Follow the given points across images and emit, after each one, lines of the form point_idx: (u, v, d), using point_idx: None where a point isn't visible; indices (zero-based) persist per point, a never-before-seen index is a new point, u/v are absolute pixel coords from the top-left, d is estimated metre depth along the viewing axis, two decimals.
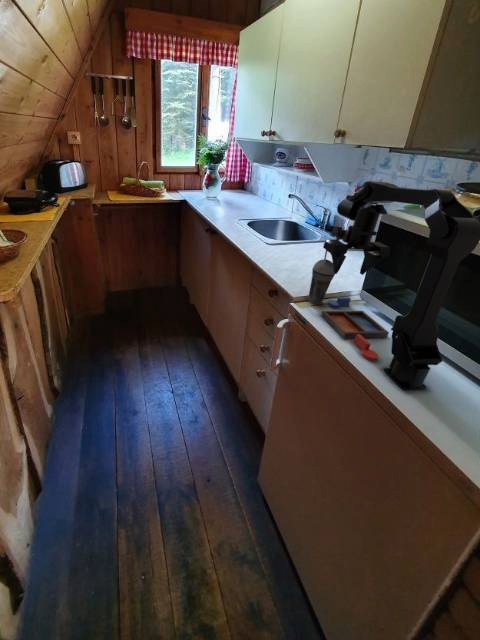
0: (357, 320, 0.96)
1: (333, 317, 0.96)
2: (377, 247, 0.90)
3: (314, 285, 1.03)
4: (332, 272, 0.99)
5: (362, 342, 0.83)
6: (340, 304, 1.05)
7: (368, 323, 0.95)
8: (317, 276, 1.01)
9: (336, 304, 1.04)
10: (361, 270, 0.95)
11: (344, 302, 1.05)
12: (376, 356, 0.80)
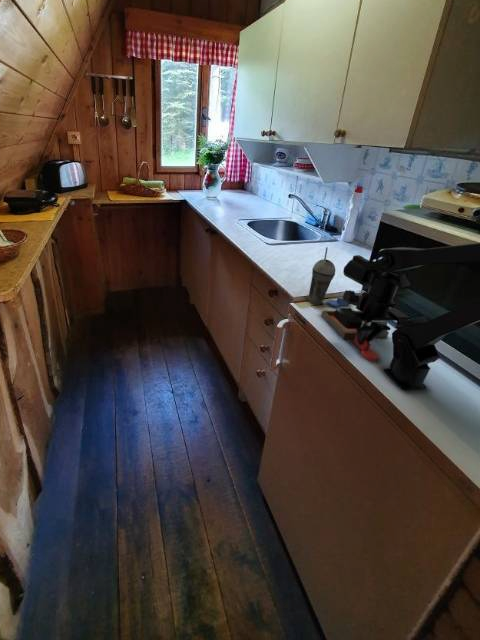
0: None
1: (333, 317, 0.96)
2: (395, 317, 0.80)
3: (314, 285, 1.03)
4: (332, 272, 0.99)
5: None
6: (340, 304, 1.05)
7: None
8: (317, 276, 1.01)
9: (336, 304, 1.04)
10: None
11: (344, 302, 1.05)
12: (376, 356, 0.80)
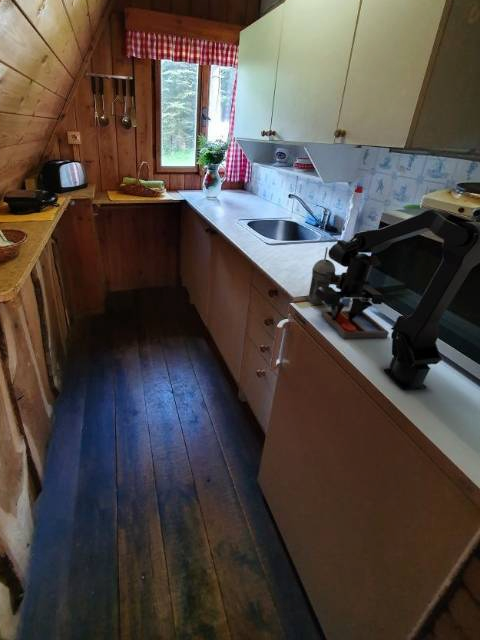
0: (357, 320, 0.96)
1: None
2: (370, 294, 0.90)
3: (314, 285, 1.03)
4: None
5: (342, 317, 0.93)
6: None
7: (368, 323, 0.95)
8: (317, 276, 1.01)
9: None
10: (349, 315, 0.94)
11: (344, 302, 1.05)
12: (354, 328, 0.90)
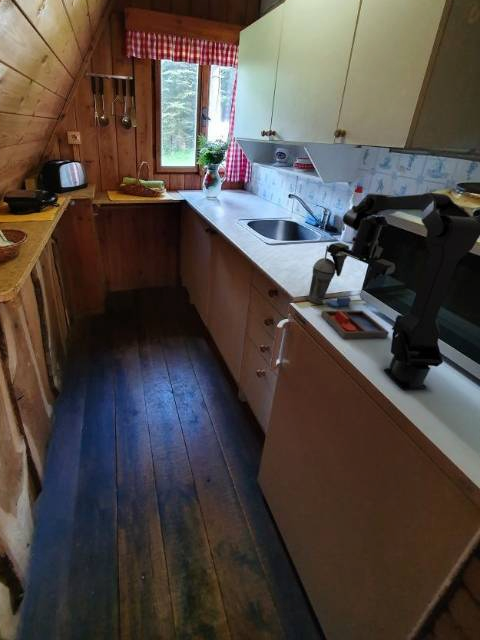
0: (357, 320, 0.96)
1: (333, 317, 0.96)
2: None
3: (314, 284, 1.03)
4: (332, 270, 1.00)
5: (342, 317, 0.93)
6: (340, 304, 1.05)
7: (368, 323, 0.95)
8: (318, 274, 1.01)
9: (336, 304, 1.04)
10: None
11: (344, 302, 1.05)
12: (354, 328, 0.90)
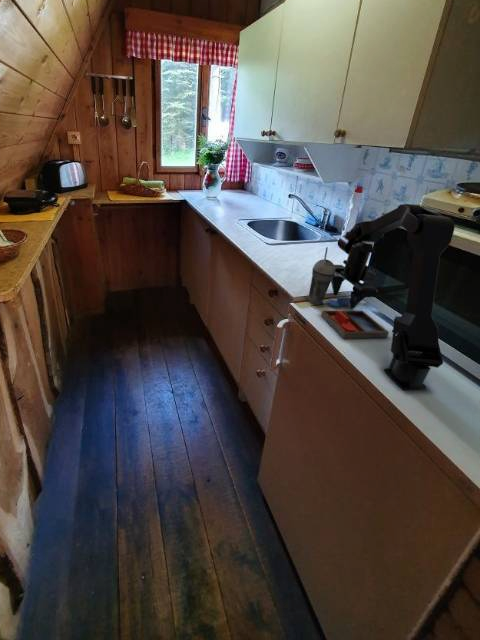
0: (357, 320, 0.96)
1: (333, 317, 0.96)
2: None
3: (314, 285, 1.03)
4: (332, 272, 0.99)
5: (342, 317, 0.93)
6: (340, 304, 1.05)
7: (368, 323, 0.95)
8: (317, 276, 1.01)
9: (336, 304, 1.04)
10: None
11: (344, 302, 1.05)
12: (354, 328, 0.90)
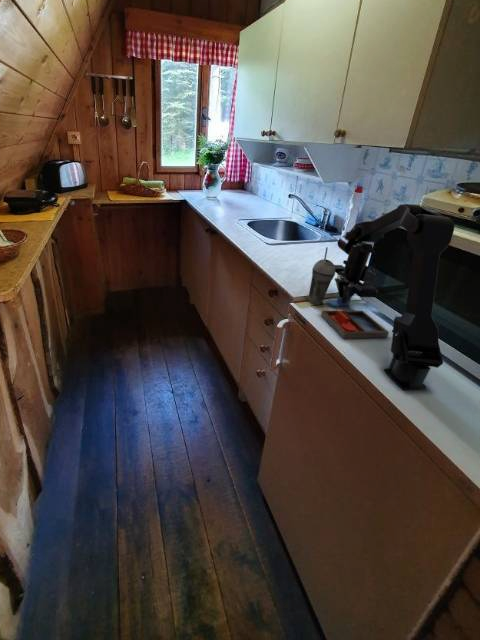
0: (357, 320, 0.96)
1: (333, 317, 0.96)
2: None
3: (314, 285, 1.03)
4: (332, 272, 0.99)
5: (342, 317, 0.93)
6: (340, 304, 1.05)
7: (368, 323, 0.95)
8: (317, 276, 1.01)
9: (336, 304, 1.04)
10: None
11: None
12: (354, 328, 0.90)
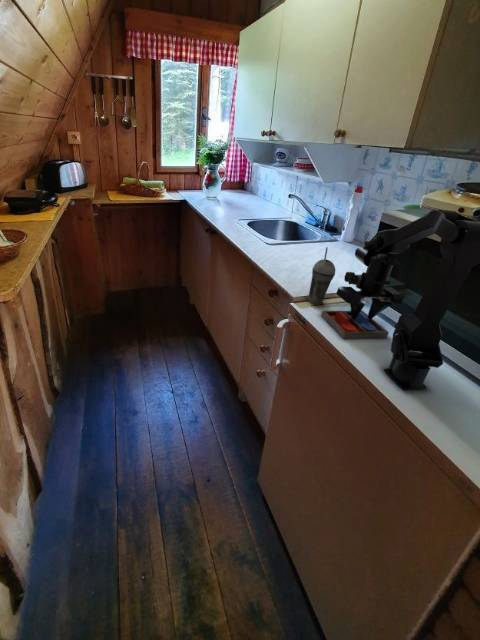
0: None
1: (333, 317, 0.96)
2: (390, 294, 0.91)
3: (314, 285, 1.03)
4: (332, 272, 0.99)
5: (342, 317, 0.93)
6: None
7: None
8: (317, 276, 1.01)
9: (371, 325, 0.93)
10: (369, 315, 0.95)
11: None
12: (354, 328, 0.90)
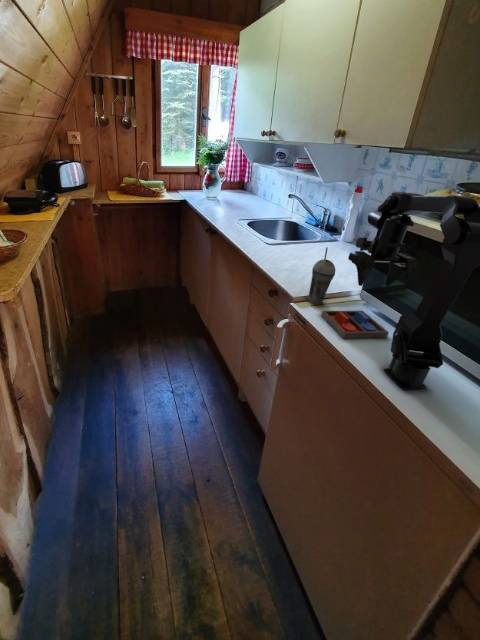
0: None
1: (333, 317, 0.96)
2: (404, 259, 0.88)
3: (314, 285, 1.03)
4: (332, 272, 0.99)
5: (342, 317, 0.93)
6: None
7: None
8: (317, 276, 1.01)
9: (371, 325, 0.93)
10: (386, 282, 0.93)
11: None
12: (354, 328, 0.90)
